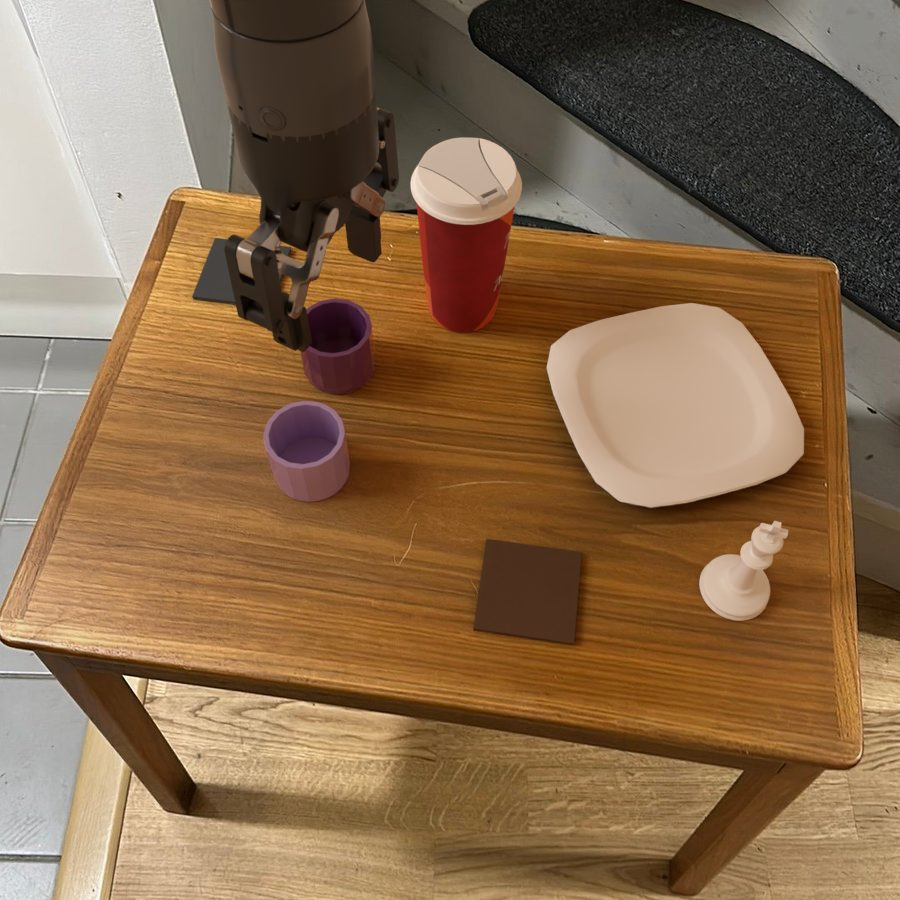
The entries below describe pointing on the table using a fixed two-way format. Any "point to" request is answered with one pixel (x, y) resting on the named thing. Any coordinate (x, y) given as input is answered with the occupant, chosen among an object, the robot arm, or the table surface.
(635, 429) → the plate
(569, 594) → the front mat
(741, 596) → the chess piece
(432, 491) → the table surface
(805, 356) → the table surface
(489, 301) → the coffee cup
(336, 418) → the lavender faceted cup
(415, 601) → the table surface
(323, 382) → the purple faceted tumbler
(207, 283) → the back mat
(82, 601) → the table surface
